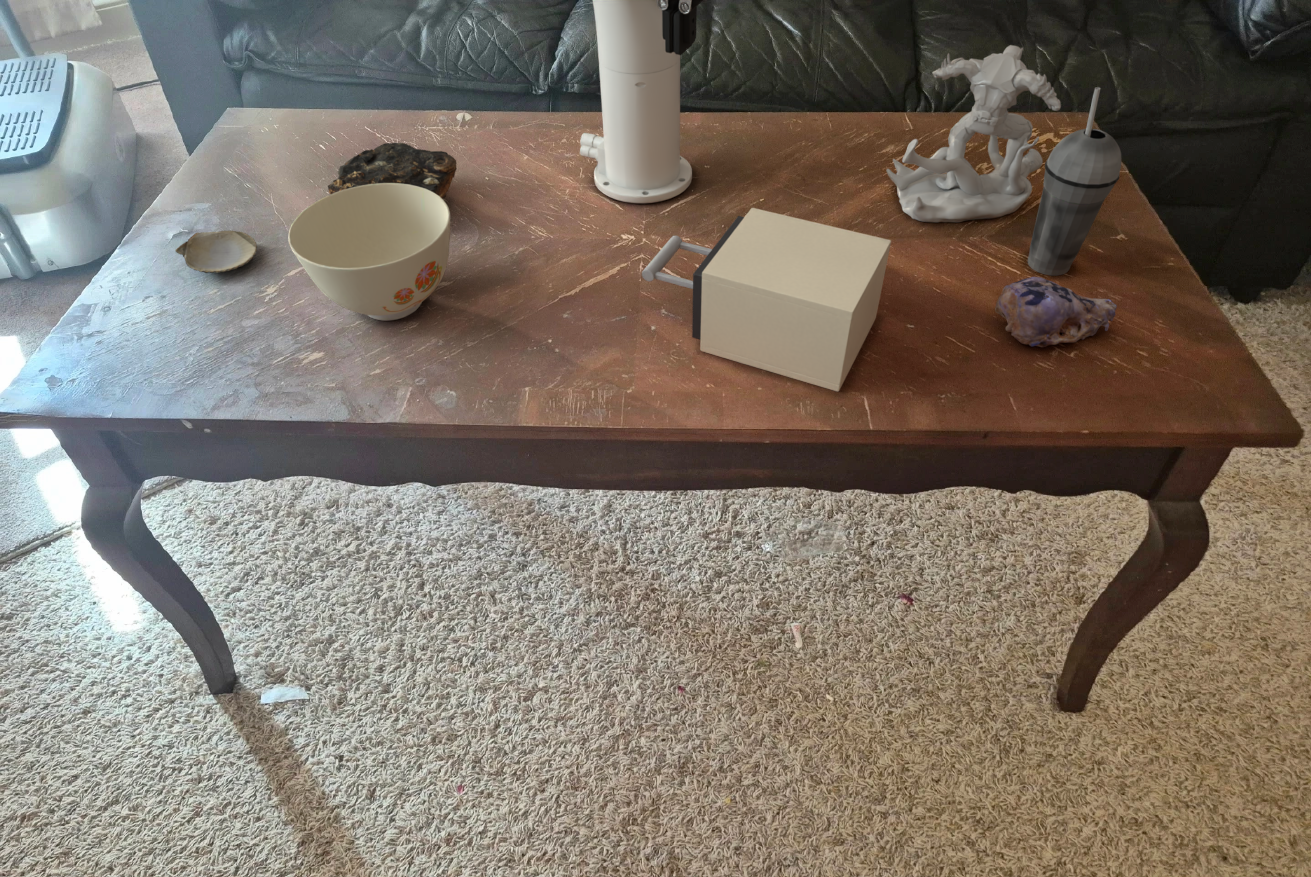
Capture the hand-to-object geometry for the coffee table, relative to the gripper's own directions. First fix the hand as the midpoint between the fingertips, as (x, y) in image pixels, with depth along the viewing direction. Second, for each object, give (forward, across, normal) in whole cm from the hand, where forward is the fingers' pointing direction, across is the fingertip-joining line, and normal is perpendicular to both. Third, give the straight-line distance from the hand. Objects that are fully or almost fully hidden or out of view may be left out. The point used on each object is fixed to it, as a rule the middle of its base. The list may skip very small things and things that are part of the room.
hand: (679, 48), depth 88 cm
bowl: (+22, +22, +25) cm, 40 cm away
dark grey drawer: (+21, -13, +12) cm, 27 cm away
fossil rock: (+22, +34, +9) cm, 41 cm away
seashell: (+22, +46, +27) cm, 58 cm away
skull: (+22, -42, 0) cm, 48 cm away
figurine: (+22, -28, -22) cm, 42 cm away
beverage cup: (+22, -40, -12) cm, 47 cm away
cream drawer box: (+22, -18, +12) cm, 31 cm away
